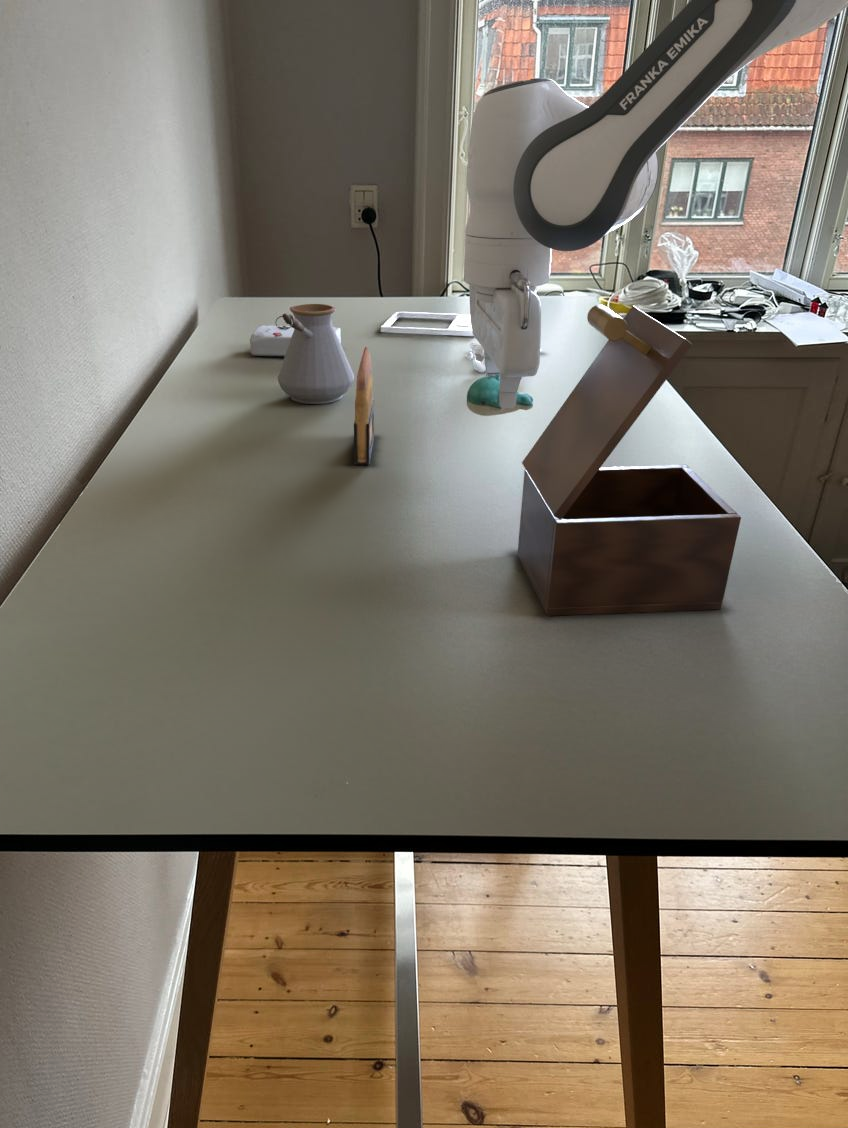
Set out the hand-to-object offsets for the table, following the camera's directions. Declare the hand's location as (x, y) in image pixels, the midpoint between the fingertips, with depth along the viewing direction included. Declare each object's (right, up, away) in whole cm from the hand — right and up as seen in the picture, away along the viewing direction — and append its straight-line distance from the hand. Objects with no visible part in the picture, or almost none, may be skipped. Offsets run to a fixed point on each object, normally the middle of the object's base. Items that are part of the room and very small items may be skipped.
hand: (500, 397), depth 102 cm
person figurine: (+8, +19, +52) cm, 56 cm away
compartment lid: (+5, -8, -24) cm, 26 cm away
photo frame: (-2, +34, +78) cm, 85 cm away
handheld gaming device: (-27, +24, +60) cm, 70 cm away
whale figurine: (0, -2, +1) cm, 2 cm away
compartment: (+8, -21, -16) cm, 28 cm away
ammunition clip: (-15, -3, +16) cm, 22 cm away
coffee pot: (-23, +7, +33) cm, 41 cm away
